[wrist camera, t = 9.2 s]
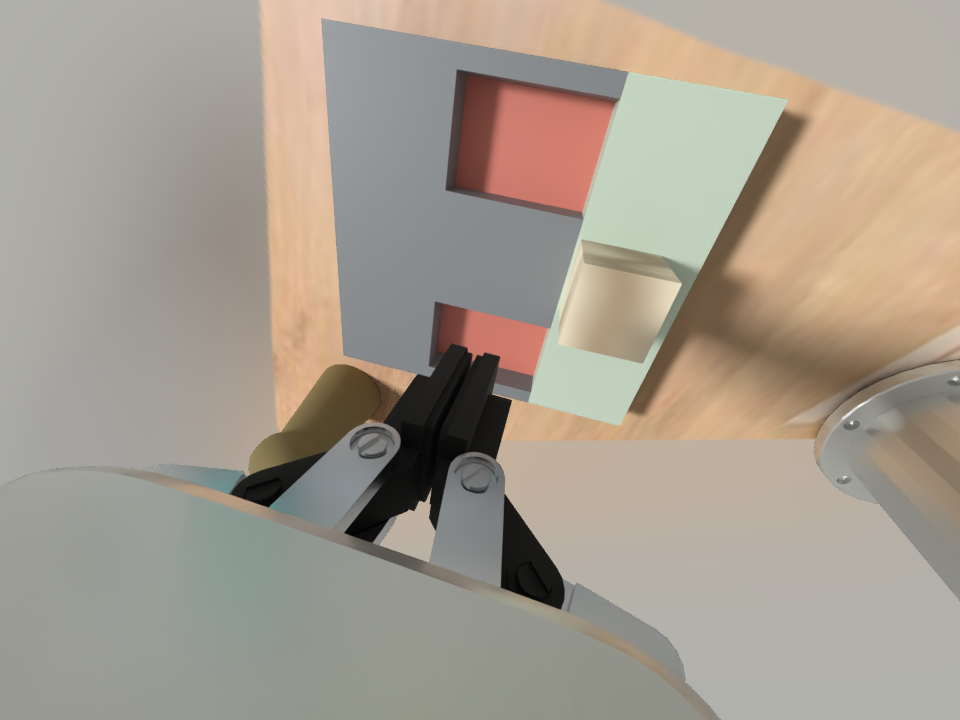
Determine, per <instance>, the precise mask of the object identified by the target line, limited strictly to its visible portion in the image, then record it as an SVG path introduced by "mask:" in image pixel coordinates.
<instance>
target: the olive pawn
mask: <svg viewBox="0 0 960 720" xmlns="http://www.w3.org/2000/svg"><path fill="white" fill-rule="evenodd" d="M380 403H381V394H380V392H379V389H378V387H377V385H376V384H375V383H374V381H373V380H372V379H371V378H370V377H369V376H368V375H367V374H365V373H364V372H363V371H361V370H359V369H357V368H355V367H352V366H348V365H334V366H331V367H329V368H327V369H326V371H325V372H324V373H323V374H322V376H321V377H320V378H319V380H318V381H317V383H316V384H315V385H314V387H313V388H312V390H311V391H310V392H309V394H308V395H307V397H306V398H305V399H304V401H303V402H302V404H301V405H300V406H299V408H298V409H297V411H296V412H295V413H294V415H293V416H292V418H291V419H290V420H289V422H288V423H287V425H286V426H285V428H284V429H283V430H282V432H280V433H276V434H273V435H271V436H269V437H268V438H266V439H264V440H263V441H262V442H261V443H260V444H259V445H258V446H257V447H256V449H255V450H254V451H253V453H252V455H251V456H250V461H249V468H248V470H249V473H250V475H251V474H253V473H255V472H258V471H260V470H263V469H267V468H270V467H274V466H277V465H281V464H284V463H288V462H291V461H295V460H298V459H302V458H305V457H309V456H312V455H316V454H319V453H323V452H326V451H329V450H330V449H331V448H333V447H334V446H335V445H336V444H337V443H338V442H339V441H340V440H341V439H342V438H343V437H344V436H345V435H346V434H348V433H349V432H350V431H351V430H352V429H354V428H355V427H357V426H360V425H362V424H364V423H365V422H366V421H367V420H368V419H369V418H370V417H371V416H372V415H373V413H374V412H375V411H376V410H377V409H378V408H379V405H380Z"/></svg>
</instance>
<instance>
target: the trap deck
mask: <svg viewBox="0 0 960 720" xmlns="http://www.w3.org/2000/svg"><path fill="white" fill-rule="evenodd" d="M321 21H322V36H323V51H324V66H325V81H326V96H327V111H328V126H329V141H330V156H331V171H332V186H333V201H334V216H335V231H336V246H337V261H338V276H339V291H340V306H341V321H342V336H343V352H344V356H348V357H352V358H356V359H360V360H364V361H368V362H371V363H375V364H379V365H383V366H387V367H391V368H395V369H399V370H403V371H407V372H411V373H415V374H421V375H424V376H428V377H430V376H431V374H432V373H433V371H434V370H435V368H436V367H437V365H438V363H439V362H440V360H441V359H442V357H443V356H444V354H445V353H446V351H447V349H448V348H449V346H450V345H451V344H456V345H460V346H464V347H467V348H468V352H469V353H473V357H472V363H471V366H472V364H473V362H474V360H475V358H476V356H477V355H481V356H483V354H484V352H486V353H490V354H493V355H497V356H500V362H499V366H498V371H497V375H496V379H495V384H494V388H493V392H492V393H493V394H497V395H501V396H505V397H509V398H513V399H516V400H520V401H524V402H528V403H532V404H536V405H540V406H544V407H548V408H552V409H556V410H560V411H563V412H567V413H571V414H575V415H579V416H583V417H587V418H591V419H595V420H599V421H603V422H607V423H610V424H614V425H618V426H620V424H621V422H622V420H623V418H624V416H625V415H626V413H627V411H628V409H629V407H630V405H631V403H632V401H633V399H634V397H635V395H636V393H637V391H638V389H639V387H640V386H641V384H642V382H643V380H644V378H645V376H646V374H647V372H648V370H649V368H650V366H651V364H652V362H653V360H654V359H655V357H656V355H657V353H658V351H659V349H660V347H661V345H662V343H663V341H664V339H665V337H666V335H667V333H668V331H669V330H670V328H671V326H672V324H673V322H674V320H675V318H676V316H677V314H678V312H679V310H680V308H681V306H682V304H683V303H684V301H685V299H686V297H687V295H688V293H689V291H690V289H691V287H692V285H693V283H694V281H695V279H696V277H697V276H698V274H699V272H700V270H701V268H702V266H703V264H704V262H705V260H706V258H707V256H708V254H709V252H710V250H711V248H712V247H713V245H714V243H715V241H716V239H717V237H718V235H719V233H720V231H721V229H722V227H723V225H724V223H725V221H726V220H727V218H728V216H729V214H730V212H731V210H732V208H733V206H734V204H735V202H736V200H737V198H738V196H739V194H740V192H741V191H742V189H743V187H744V185H745V183H746V181H747V179H748V177H749V175H750V173H751V171H752V169H753V167H754V165H755V164H756V162H757V160H758V158H759V156H760V154H761V152H762V150H763V148H764V146H765V144H766V142H767V140H768V138H769V136H770V135H771V133H772V131H773V129H774V127H775V125H776V123H777V121H778V119H779V117H780V115H781V113H782V111H783V109H784V108H785V106H786V104H787V102H788V100H787V99H781V98H776V97H770V96H764V95H758V94H753V93H747V92H741V91H735V90H730V89H724V88H718V87H712V86H707V85H701V84H695V83H689V82H684V81H678V80H672V79H666V78H661V77H655V76H649V75H643V74H638V73H632V72H626V71H620V70H615V69H609V68H603V67H598V66H592V65H586V64H580V63H575V62H569V61H563V60H557V59H552V58H546V57H540V56H534V55H529V54H523V53H517V52H511V51H506V50H500V49H494V48H488V47H483V46H477V45H471V44H465V43H460V42H454V41H448V40H442V39H437V38H431V37H425V36H419V35H414V34H408V33H402V32H396V31H391V30H385V29H379V28H373V27H368V26H362V25H356V24H350V23H345V22H339V21H333V20H327V19H322V18H321ZM581 239H583V240H587V241H592V242H597V243H602V244H607V245H612V246H617V247H622V248H627V249H631V250H636V251H641V252H646V253H651V254H656V255H661V256H662V258H663V259H664V260H665V262H666V263H667V264H668V266H669V267H670V268H671V270H672V271H673V272H674V274H675V275H676V276H677V278H678V279H679V280H680V282H681V283H682V285H681V287H680V289H679V291H678V293H677V295H676V297H675V299H674V301H673V303H672V305H671V307H670V310H669V312H668V314H667V316H666V318H665V320H664V322H663V324H662V326H661V328H660V330H659V332H658V334H657V336H656V338H655V340H654V342H653V344H652V346H651V348H650V350H649V352H648V355H647V357H646V359H645V361H644V363H643V364H641V363H637V362H633V361H628V360H624V359H620V358H615V357H611V356H607V355H602V354H598V353H594V352H589V351H585V350H581V349H576V348H572V347H568V346H563V345H559V344H558V341H559V318H560V308H561V304H562V301H563V298H564V294H565V291H566V288H567V284H568V281H569V278H570V274H571V271H572V268H573V264H574V261H575V258H576V255H577V251H578V248H579V245H580V241H581Z"/></svg>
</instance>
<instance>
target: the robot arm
mask: <svg viewBox="0 0 960 720" xmlns="http://www.w3.org/2000/svg"><path fill="white" fill-rule="evenodd" d="M472 357H473V353H469V352H468V348H467V347H464V346H460V345H456V344H451V345H450V346H449V348H448V349H447V351H446V353H445V354H444V356H443V357H442V359H441V360H440V362H439V363H438V365H437V367H436V368H435V370H434V371H433V373H432V374H431V376H430V377H428V376H424V375H421V374H418V375H417V376H416V377H415V378H414V380H413V381H412V382H411V384H410V385H409V387H408V388H407V390H406V391H405V392H404V394H403V395H402V397H401V398H400V400H399V401H398V402H397V404H396V405H395V407H394V408H393V409H392V411H391V412H390V414H389V415H388V417H387V418H386V419H385V421H384V422H383V423H375V422H372V423H365V424H362V425H360V426H357V427H355V428H354V429H352V430H351V431H350V432H349V433H348V434H346V435H345V436H344V437H343V438H342V439H341V440H340V441H339V442H338V443H337V444H336V445H335V446H334V447H333V448H331V449H330V450H329V451H326V452H323V453H319V454H316V455H312V456H309V457H305V458H302V459H298V460H295V461H291V462H288V463H284V464H281V465H277V466H274V467H270V468H267V469H263V470H260V471H258V472H255V473H253V474H251V475H249V476H247V475H245V473H244V471H238V470H228V469H218V468H208V467H196V466H187V465H177V464H159V465H155V466H152V467H148V468H146V469H144V470H139V469H134V468H125V467H112V466H81V467H66V468H56V469H50V470H44V471H40V472H36V473H32V474H29V475H25V476H22V477H20V478H17V479H15V480H12V481H10V482H7V483H5V484H3V485H1V486H0V720H721V719H720V718H719V717H718V716H717V715H716V713H715V712H714V711H713V710H712V708H711V707H710V706H709V705H708V704H707V703H706V702H705V701H704V700H703V699H702V698H701V697H700V696H699V695H698V694H697V693H696V692H695V691H694V690H693V689H692V688H691V686H689V685H688V684H687V683H686V682H685V674H684V667H683V664H682V661H681V659H680V657H679V655H678V652H677V650H676V649H675V648H674V646H673V645H672V644H671V642H670V641H669V640H668V638H666V637H665V636H664V635H663V634H661V633H660V632H659V631H658V630H656V629H655V628H653V627H651V626H650V625H648V624H646V623H645V622H643V621H641V620H640V619H638V618H636V617H635V616H633V615H631V614H630V613H628V612H626V611H624V610H623V609H621V608H619V607H618V606H616V605H614V604H613V603H611V602H609V601H608V600H606V599H604V598H603V597H601V596H599V595H597V594H596V593H594V592H592V591H591V590H589V589H587V588H586V587H584V586H582V585H581V584H579V583H576V585H575V586H574V585H572V584H571V583H569V582H567V581H565V580H564V579H562V577H561V575H560V573H559V571H558V569H557V568H556V566H555V565H554V563H553V562H552V560H551V559H550V557H549V556H548V555H547V553H546V552H545V550H544V549H543V548H542V546H541V545H540V544H539V542H538V541H537V539H536V538H535V536H534V535H533V534H532V532H531V531H530V529H529V528H528V526H527V525H526V523H525V522H524V520H523V519H522V518H521V516H520V515H519V513H518V512H517V511H516V509H515V508H514V506H513V505H512V504H511V502H510V501H509V499H508V498H507V496H506V495H505V493H504V491H505V476H504V471H503V469H502V467H501V465H500V464H499V463H498V462H497V461H496V457H497V454H498V450H499V446H500V443H501V439H502V435H503V432H504V428H505V424H506V420H507V417H508V413H509V409H510V406H511V402H512V400H510V399H506V398H502V397H499V396H495V395H492V392H493V388H494V384H495V379H496V375H497V371H498V366H499V362H500V356H497V355H493V354H490V353H486V352H484V354H483V356H481V355H477V356H476V358H475V360H474V362H473V364H472V366H471V363H472ZM814 455H815V458H816V463H817V465H818V466H819V468H820V469H821V471H822V472H823V474H824V475H825V477H826V478H827V479H828V480H829V481H830V483H831V484H832V485H834V486H835V487H836V488H838V489H839V490H841V491H842V492H844V493H846V494H848V495H850V496H853V497H855V498H858V499H861V500H864V501H868V502H872V503H877V504H880V506H881V507H882V508H883V509H884V510H885V511H886V513H887V514H888V515H889V516H890V518H891V519H892V520H893V521H894V522H895V523H896V525H897V526H898V527H899V528H900V530H901V531H902V532H903V533H904V534H905V536H906V537H907V538H908V539H909V540H910V542H911V543H912V544H913V545H914V546H915V548H916V549H917V550H918V551H919V552H920V554H921V555H922V556H923V557H924V558H925V560H926V561H927V562H928V563H929V564H930V566H931V567H932V568H933V569H934V571H935V572H936V573H937V574H938V575H939V576H940V578H941V579H942V580H943V581H944V583H945V584H946V585H947V586H948V587H949V588H950V590H951V591H952V592H953V593H954V595H955V596H956V597H957V598H958V599H959V601H960V360H954V361H948V362H942V363H937V364H931V365H926V366H922V367H919V368H915V369H912V370H908V371H905V372H901V373H899V374H896V375H894V376H891V377H889V378H886V379H884V380H881V381H879V382H877V383H875V384H873V385H871V386H869V387H867V388H865V389H864V390H862V391H860V392H858V393H857V394H855V395H854V396H852V397H851V398H850V399H848V400H847V401H845V402H844V403H843V404H841V405H840V406H839V407H838V408H837V409H836V410H835V411H834V412H833V413H832V414H831V415H830V416H829V417H828V418H827V420H826V421H825V423H824V424H823V425H822V427H821V428H820V430H819V432H818V435H817V437H816V440H815V446H814ZM431 488H432V490H431ZM430 490H431V498H430V504H431V508H430V516H429V519H430V521H431V523H432V525H433V527H434V529H435V531H436V533H435V538H434V543H433V548H432V552H431V557H430V562H429V563H428V562H425V561H422V560H419V559H417V558H414V557H411V556H407V555H405V554H402V553H399V552H396V551H393V550H391V549H388V548H385V547H382V546H379V545H380V543H381V542H382V540H383V539H384V537H385V536H386V534H387V533H388V532H389V530H390V529H391V527H392V526H393V524H394V522H395V520H396V517H397V515H399V514H402V513H404V512H407V511H408V509H410V510H413V511H414V510H415V509H416V507H417V504H418V502H419V501H422V502H425V501H426V499H427V497H428V495H429V493H430Z"/></svg>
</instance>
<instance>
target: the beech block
mask: <svg viewBox="0 0 960 720" xmlns="http://www.w3.org/2000/svg"><path fill="white" fill-rule="evenodd" d="M681 285H682V283H681V282H680V280H679V279H678V278H677V276H676V275H675V274H674V272H673V271H672V270H671V268H670V267H669V266H668V264H667V263H666V262H665V260H664V259H663V258H662V256H661V255H656V254H651V253H646V252H641V251H636V250H631V249H627V248H622V247H617V246H612V245H607V244H602V243H597V242H592V241H587V240H583V239H581V241H580V245H579V248H578V251H577V255H576V258H575V261H574V264H573V268H572V271H571V274H570V278H569V281H568V284H567V288H566V291H565V294H564V298H563V301H562V304H561V308H560V318H559V341H558V344H559V345H563V346H568V347H572V348H576V349H581V350H585V351H589V352H594V353H598V354H602V355H607V356H611V357H615V358H620V359H624V360H628V361H633V362H637V363H641V364H643V363H644V361H645V359H646V357H647V355H648V352H649V350H650V348H651V346H652V344H653V342H654V340H655V338H656V336H657V334H658V332H659V330H660V328H661V326H662V324H663V322H664V320H665V318H666V316H667V314H668V312H669V310H670V307H671V305H672V303H673V301H674V299H675V297H676V295H677V293H678V291H679V289H680V287H681Z"/></svg>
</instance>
